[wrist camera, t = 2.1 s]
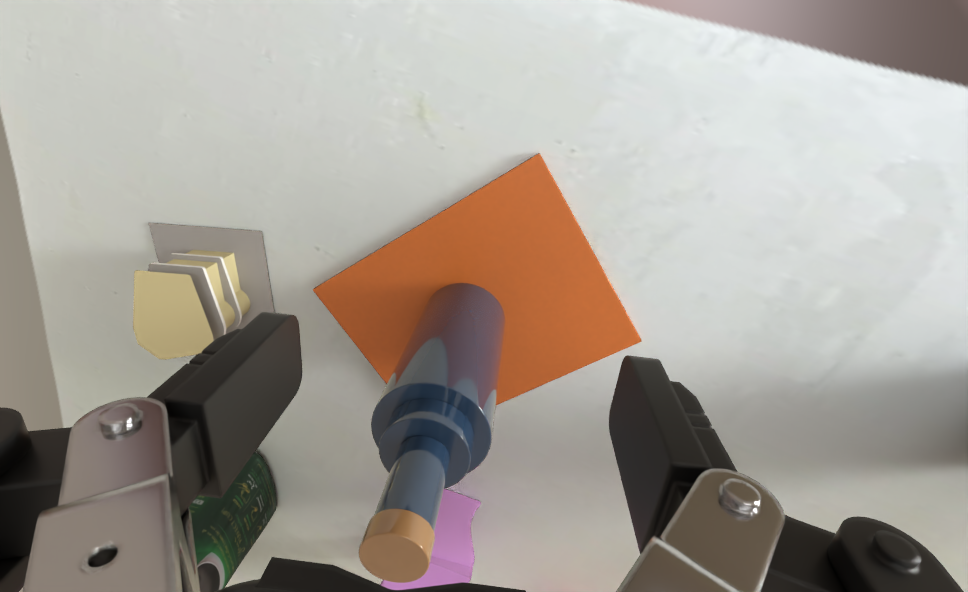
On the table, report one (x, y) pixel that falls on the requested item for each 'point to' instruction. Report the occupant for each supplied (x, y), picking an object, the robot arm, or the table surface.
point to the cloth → (491, 282)
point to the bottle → (433, 424)
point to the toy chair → (448, 545)
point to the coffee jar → (231, 523)
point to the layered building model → (199, 288)
